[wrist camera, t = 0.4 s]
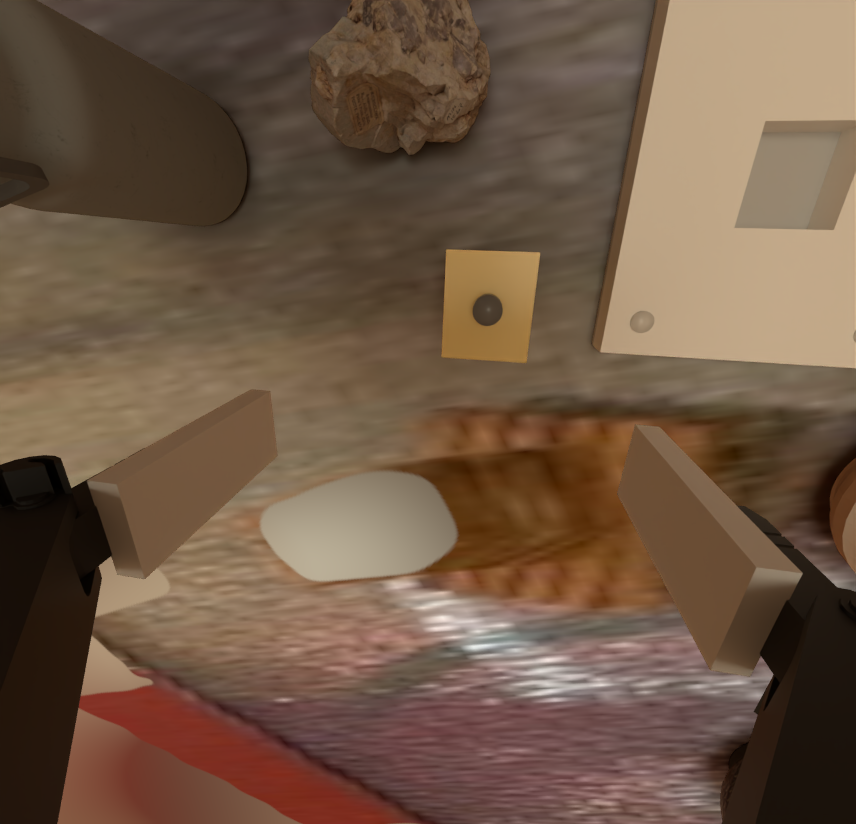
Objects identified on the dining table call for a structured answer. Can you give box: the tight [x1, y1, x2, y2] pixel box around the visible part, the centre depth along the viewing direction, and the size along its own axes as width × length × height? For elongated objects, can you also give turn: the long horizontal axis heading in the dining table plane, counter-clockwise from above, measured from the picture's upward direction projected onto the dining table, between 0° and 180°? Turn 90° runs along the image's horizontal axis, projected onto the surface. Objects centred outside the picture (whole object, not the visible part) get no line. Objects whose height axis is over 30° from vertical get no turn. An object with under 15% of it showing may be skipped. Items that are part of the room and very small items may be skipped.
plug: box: [442, 249, 540, 363], centre depth 27 cm, size 6×5×13 cm
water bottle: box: [0, 0, 247, 226], centre depth 20 cm, size 10×10×28 cm
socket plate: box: [591, 0, 856, 368], centre depth 26 cm, size 24×20×4 cm
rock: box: [309, 0, 490, 155], centre depth 26 cm, size 9×12×10 cm
